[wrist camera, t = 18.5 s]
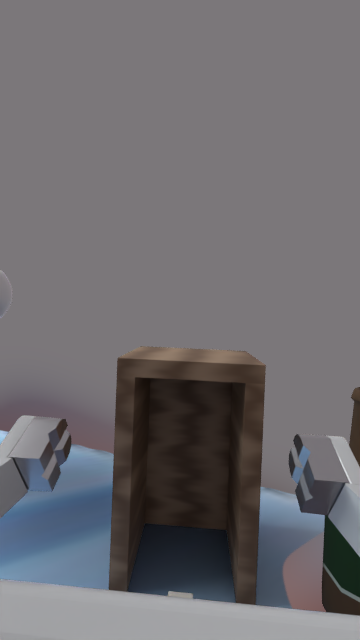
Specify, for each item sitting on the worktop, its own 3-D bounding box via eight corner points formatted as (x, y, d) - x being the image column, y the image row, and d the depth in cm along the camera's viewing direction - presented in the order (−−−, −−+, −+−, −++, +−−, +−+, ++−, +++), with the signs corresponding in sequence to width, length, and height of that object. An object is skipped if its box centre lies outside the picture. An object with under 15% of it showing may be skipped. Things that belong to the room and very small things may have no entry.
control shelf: (108, 592, 32) (117, 357, 32) (134, 513, 45) (141, 346, 44) (255, 607, 31) (265, 365, 31) (238, 521, 44) (245, 351, 44)
